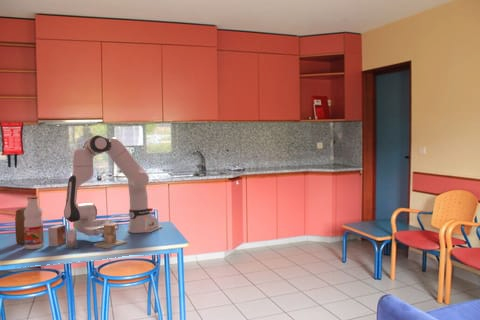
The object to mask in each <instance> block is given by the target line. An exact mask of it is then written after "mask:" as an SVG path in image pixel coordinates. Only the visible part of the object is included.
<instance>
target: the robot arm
mask: <svg viewBox="0 0 480 320" xmlns="http://www.w3.org/2000/svg"><path fill="white" fill-rule="evenodd" d="M103 153H105V154H107V155H108V156H109V158H111V160H112V162H113V163H114V164H115V165H116V167H117V168H118V169H119V171H121V173H122V174H123V175H124V176H125V178H127V187H128V194H129V210H128V211H129V212H128V214H129V225H128V229H127V232H128V233H131V234H141V233H143V234H144V233H151V232H154V231H157V230H160V229H161V228H163V226H162V225H160V224H159V220H158V218H157V217H155V216H154V215H153V214H151V212H153V211H154V210H153V209H154V208H151V207H149V205H148V201H149V200H148V191H147V185H148V184H149V179H150V178H149V177H150V176H149V175H148V173H147V172H146V171H145V170H144V168H143V167H142V165H140V163H138V161H137V160H136V159H135V157H133V155H132V154H131V152H130V151H129V149H128V148H127V147H126V146H125V145H124V144H123V142H122V141H120V140H119V139H118V138H116V137H110V138H107V137H106V136H103V135H99V134H98V135H97V134H96V135H93V136H91V137H90V138H89V139H87V140H86V141H85V143H84V145H83V146H82V147H80V148H77V149H76V150H75V151H74V153H73V160H72V163H73V164H72V165H73V166H72V168H73V169H72V175H71V176H70V177H69V178H68V182H67V190H66V197H65V198H66V200H65V207H64V210H63V216H64V218H65V219H66V220H67V221H68V222H70V223H72V226H73V229H74V231H76V232H78V233H81V234H83V235H86V236H91V237H92V236H99V235H104V234H103V233H105V230H104V225H107V224H115V225H116V231H118V230H119V223H118V222H117V221H113V220H108V219H97V216H98V209H97V206H96V205H95V204H94V203H93V202H91V201H90V202H82V203H81V202H80V203H77V198H78V190H79V187H80V186H81V185H83V184H85V183H88V182H89V181H90V180H91V179H92V178H93V176H94V162H93V161H94V157H95V156H99V155H101V154H103Z"/></svg>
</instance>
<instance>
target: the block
mask: <svg viewBox="0 0 480 320" xmlns="http://www.w3.org/2000/svg"><path fill="white" fill-rule="evenodd" d="M25 209H26V207H20V208H18V209H17V210H16V211H15V218H14V219H15V220H14V222H15V223H14V226H15V241H16V242H15V243H16V244H17V245H23V246H24V245H25V239H24V220H25V217H24V210H25Z"/></svg>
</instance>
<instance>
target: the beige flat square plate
mask: <svg viewBox="0 0 480 320" xmlns="http://www.w3.org/2000/svg"><path fill="white" fill-rule="evenodd" d="M127 243H128V240H123V239H118V238H116V242H115V243H111V244H108V243H104V240H102V241H99V242H95V243H92V246H93V247H97V248H102V249H107V250H108V249H111V248H114V247H117V246H122V245H125V244H127Z"/></svg>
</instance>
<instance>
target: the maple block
mask: <svg viewBox="0 0 480 320" xmlns="http://www.w3.org/2000/svg"><path fill="white" fill-rule="evenodd" d="M104 230H105V233H104V234H103V238H104V239H103V241H104V243H108V244H111V243H115V242H116V239H117V230H116V225H115V224H107V225H104Z"/></svg>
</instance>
